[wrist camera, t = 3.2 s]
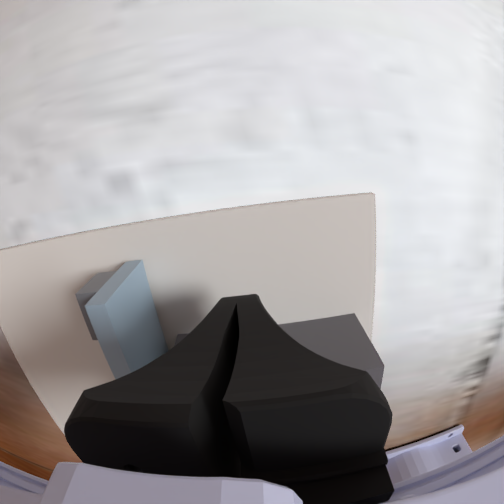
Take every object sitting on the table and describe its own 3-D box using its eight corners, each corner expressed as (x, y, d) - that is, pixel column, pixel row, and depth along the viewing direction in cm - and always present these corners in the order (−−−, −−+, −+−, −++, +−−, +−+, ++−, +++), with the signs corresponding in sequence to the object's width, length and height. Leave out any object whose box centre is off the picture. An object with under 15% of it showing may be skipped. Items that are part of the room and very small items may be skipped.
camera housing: (354, 313, 14) (390, 375, 9) (345, 428, 17) (361, 485, 12) (171, 334, 14) (147, 402, 10) (210, 443, 17) (204, 501, 13)
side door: (146, 259, 13) (109, 303, 9) (210, 451, 17) (205, 501, 13) (106, 264, 13) (62, 306, 9) (181, 451, 17) (173, 499, 13)
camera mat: (371, 192, 12) (374, 193, 12) (354, 441, 18) (355, 445, 18) (-22, 254, 13) (-26, 256, 13) (76, 445, 19) (75, 448, 18)
